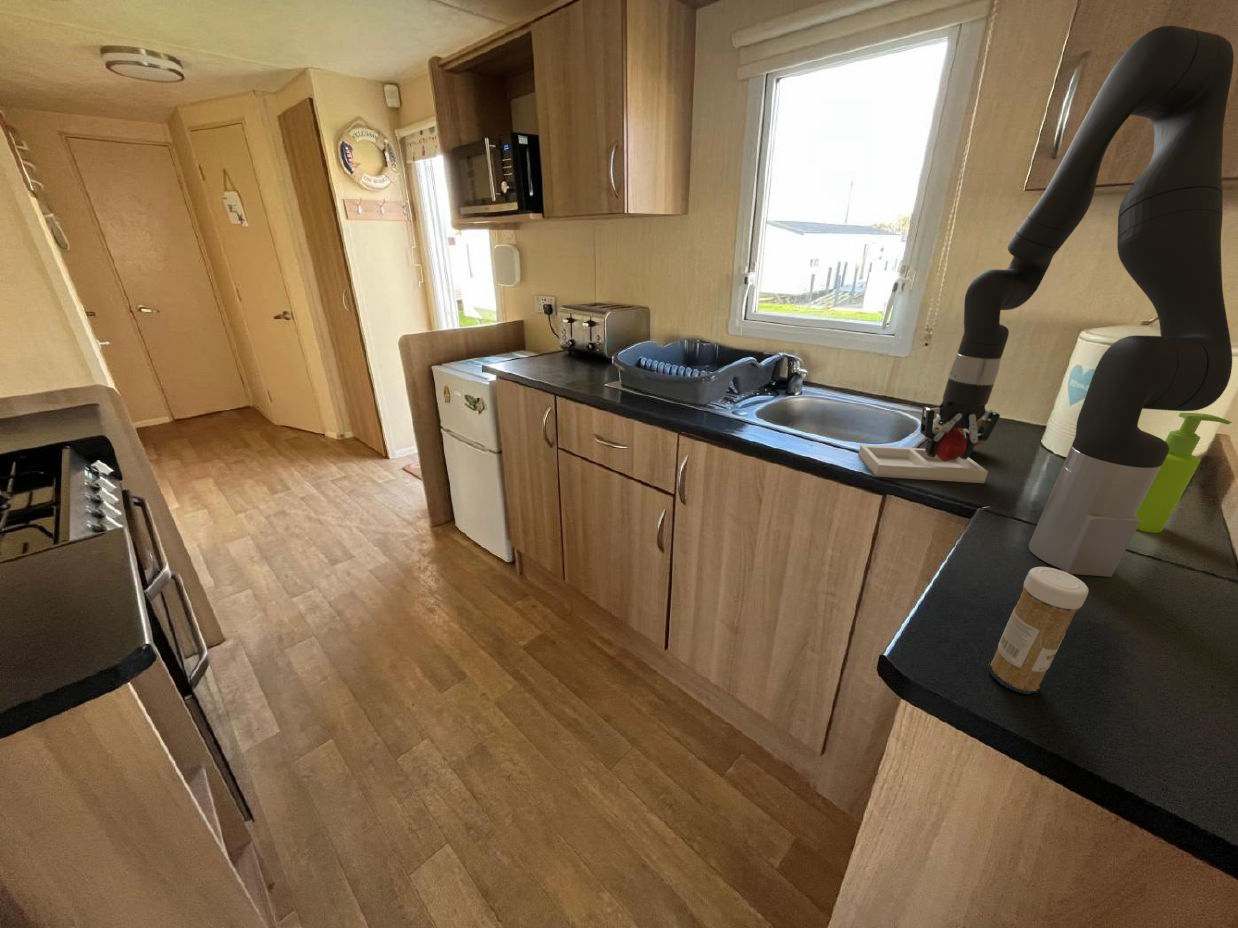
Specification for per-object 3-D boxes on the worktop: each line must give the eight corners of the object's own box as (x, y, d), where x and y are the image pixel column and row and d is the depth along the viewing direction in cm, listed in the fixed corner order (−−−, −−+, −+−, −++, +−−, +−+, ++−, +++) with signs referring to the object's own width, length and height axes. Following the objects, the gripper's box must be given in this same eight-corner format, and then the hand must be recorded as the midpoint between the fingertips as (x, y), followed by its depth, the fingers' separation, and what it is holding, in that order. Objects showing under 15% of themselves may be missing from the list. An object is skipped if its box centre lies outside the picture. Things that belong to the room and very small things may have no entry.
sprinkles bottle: (1045, 702, 50) (1100, 598, 45) (993, 689, 52) (1041, 587, 46) (1028, 669, 54) (1076, 570, 49) (980, 658, 56) (1022, 560, 50)
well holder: (983, 483, 98) (988, 471, 97) (875, 476, 100) (878, 464, 99) (955, 461, 108) (959, 450, 107) (858, 455, 110) (860, 445, 109)
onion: (965, 468, 100) (977, 431, 96) (935, 465, 101) (946, 429, 98) (953, 457, 105) (965, 422, 102) (924, 455, 106) (935, 420, 103)
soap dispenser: (1178, 536, 81) (1244, 423, 72) (1125, 528, 83) (1184, 417, 75) (1156, 520, 86) (1215, 412, 77) (1108, 512, 88) (1160, 406, 80)
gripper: (942, 381, 93) (918, 461, 100) (1022, 385, 91) (993, 466, 98) (924, 372, 100) (903, 448, 106) (999, 375, 98) (972, 452, 105)
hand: (946, 456), depth 102 cm, fingers closed on onion, 5 cm apart
